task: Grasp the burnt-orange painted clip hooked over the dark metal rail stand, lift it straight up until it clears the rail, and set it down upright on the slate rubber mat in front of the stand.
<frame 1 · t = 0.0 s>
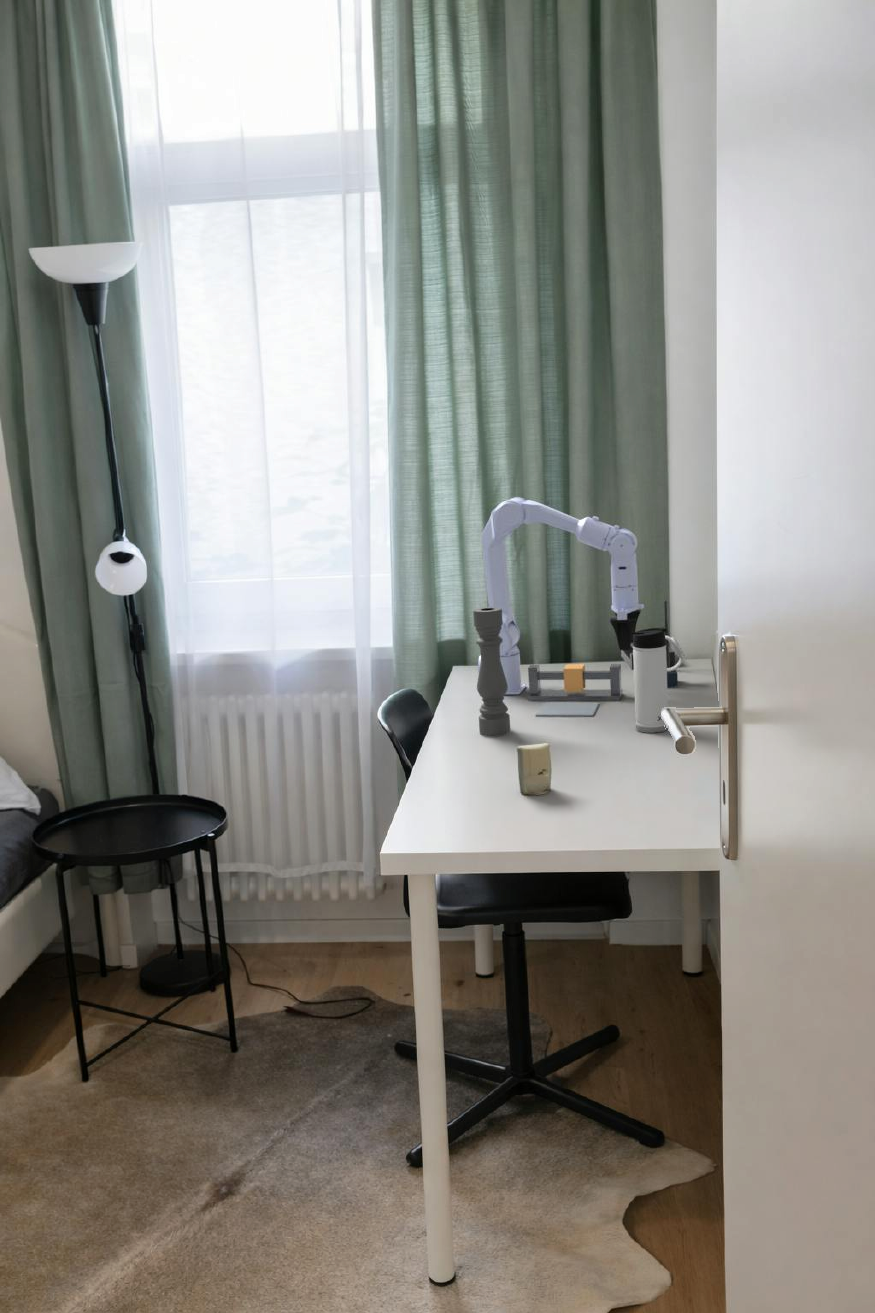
hand: (626, 646, 249), 10 cm above the table, fingers open, 7 cm apart
travel mug: (653, 729, 219), on the table
beige tall block: (537, 792, 188), on the table
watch: (667, 684, 254), on the table
wifi router: (649, 664, 277), on the table
candle holder: (495, 733, 225), on the table
clip: (575, 689, 248), point 2 cm above the table, touching rail stand
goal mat: (567, 710, 238), on the table
rail stand: (575, 697, 248), on the table
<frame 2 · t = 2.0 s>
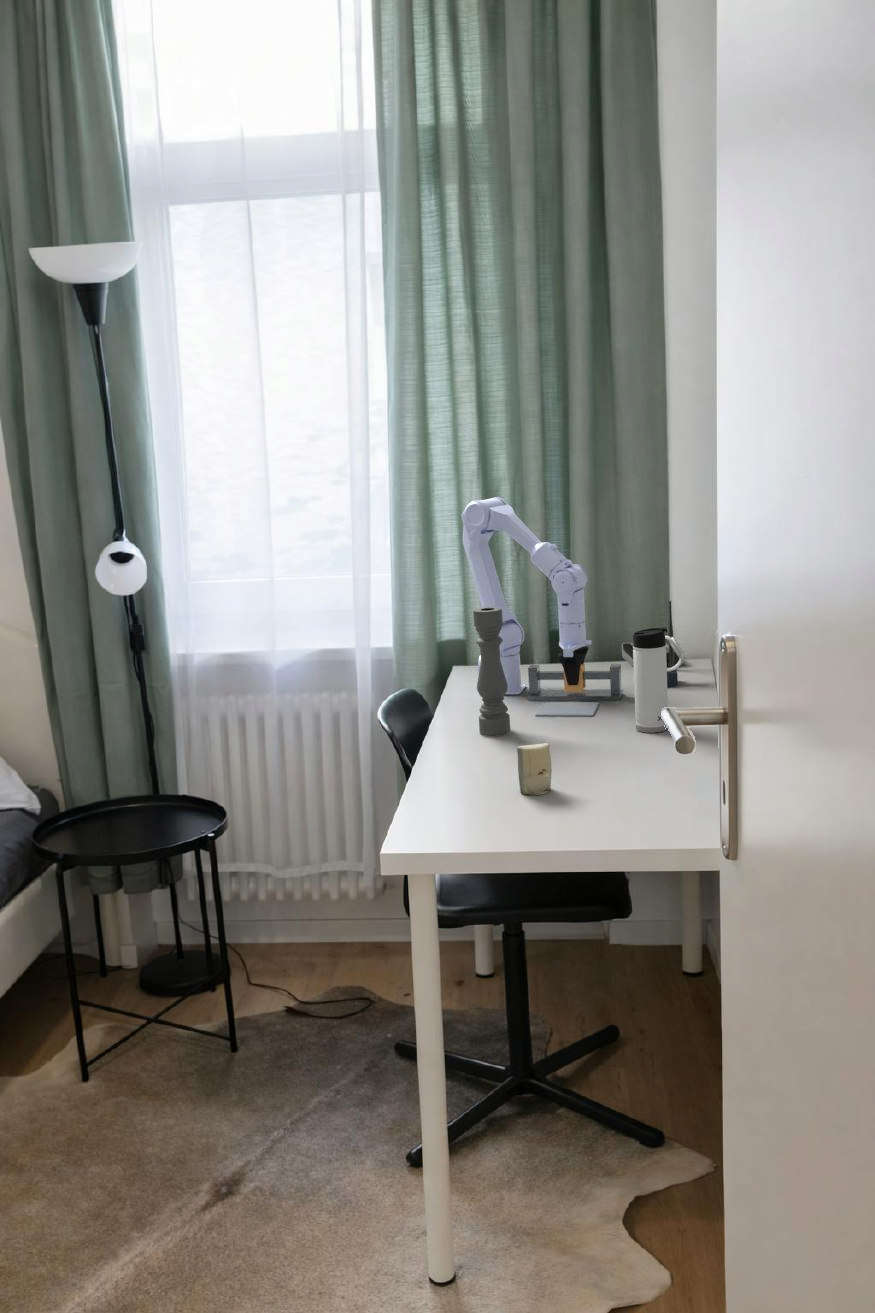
hand: (574, 682, 247), 3 cm above the table, fingers closed on clip, 4 cm apart
clip: (575, 689, 248), point 2 cm above the table, touching gripper, rail stand
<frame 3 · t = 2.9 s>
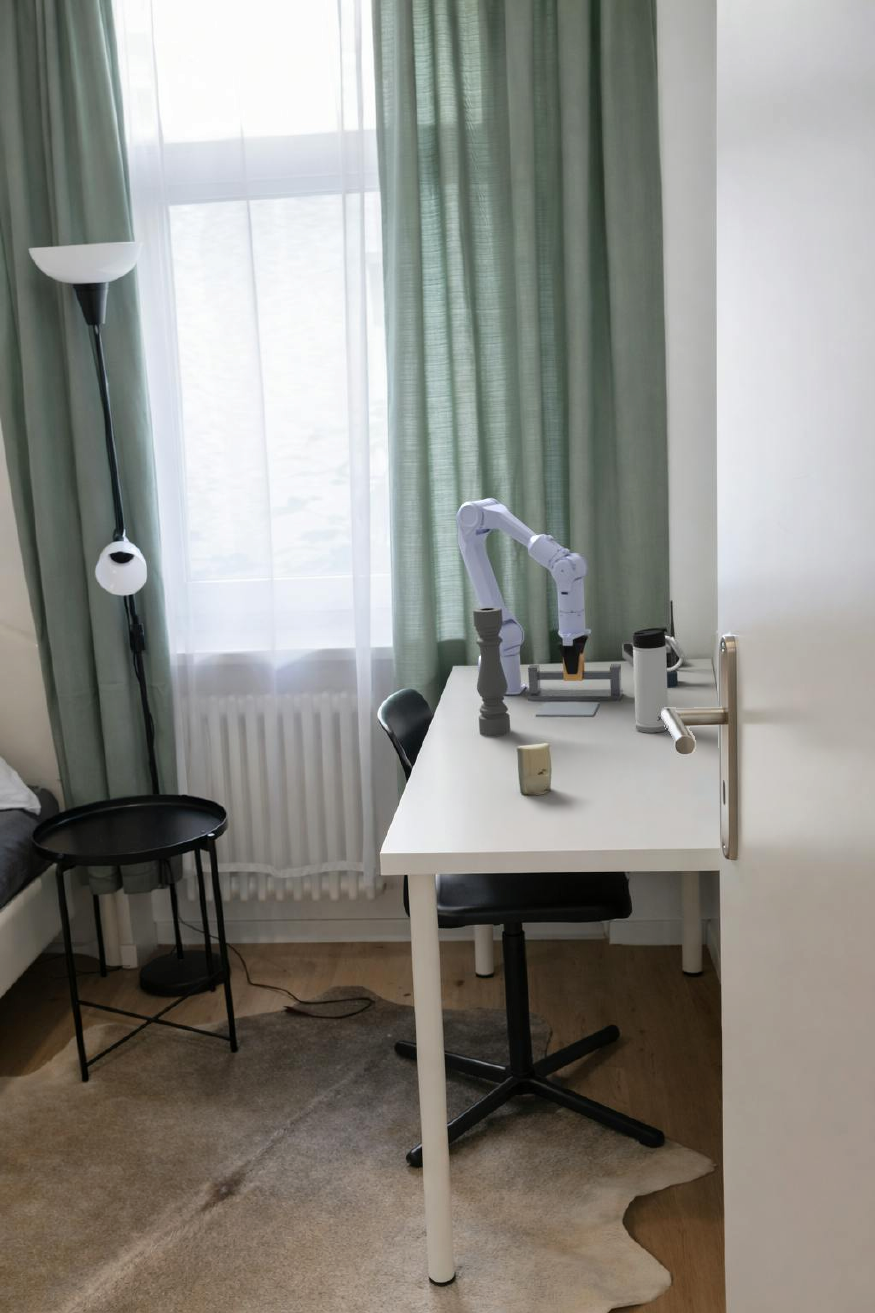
hand: (574, 671, 247), 6 cm above the table, fingers closed on clip, 4 cm apart
clip: (574, 678, 247), point 4 cm above the table, touching gripper
everything else where it was.
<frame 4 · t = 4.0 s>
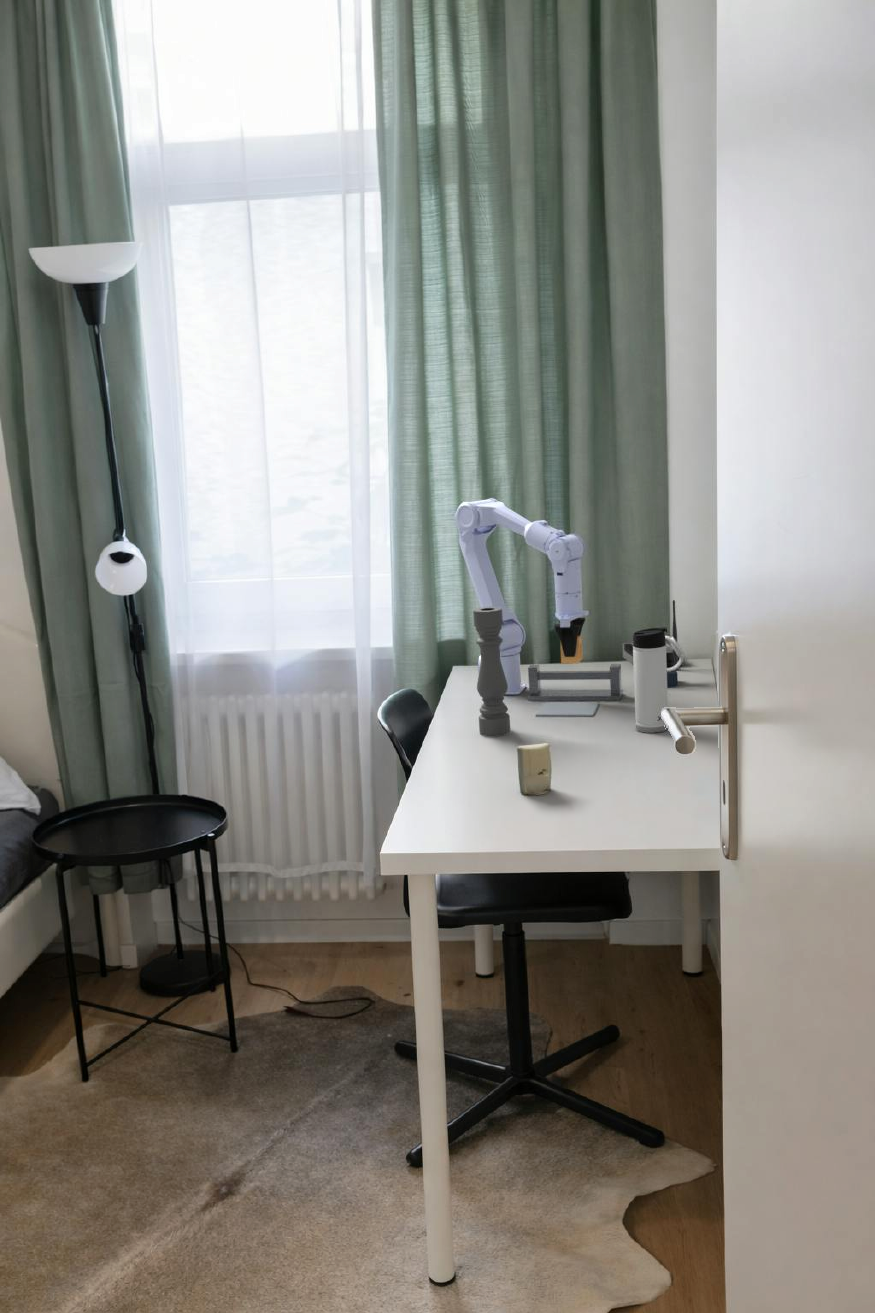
hand: (571, 654, 243), 10 cm above the table, fingers closed on clip, 4 cm apart
clip: (572, 661, 243), point 9 cm above the table, touching gripper
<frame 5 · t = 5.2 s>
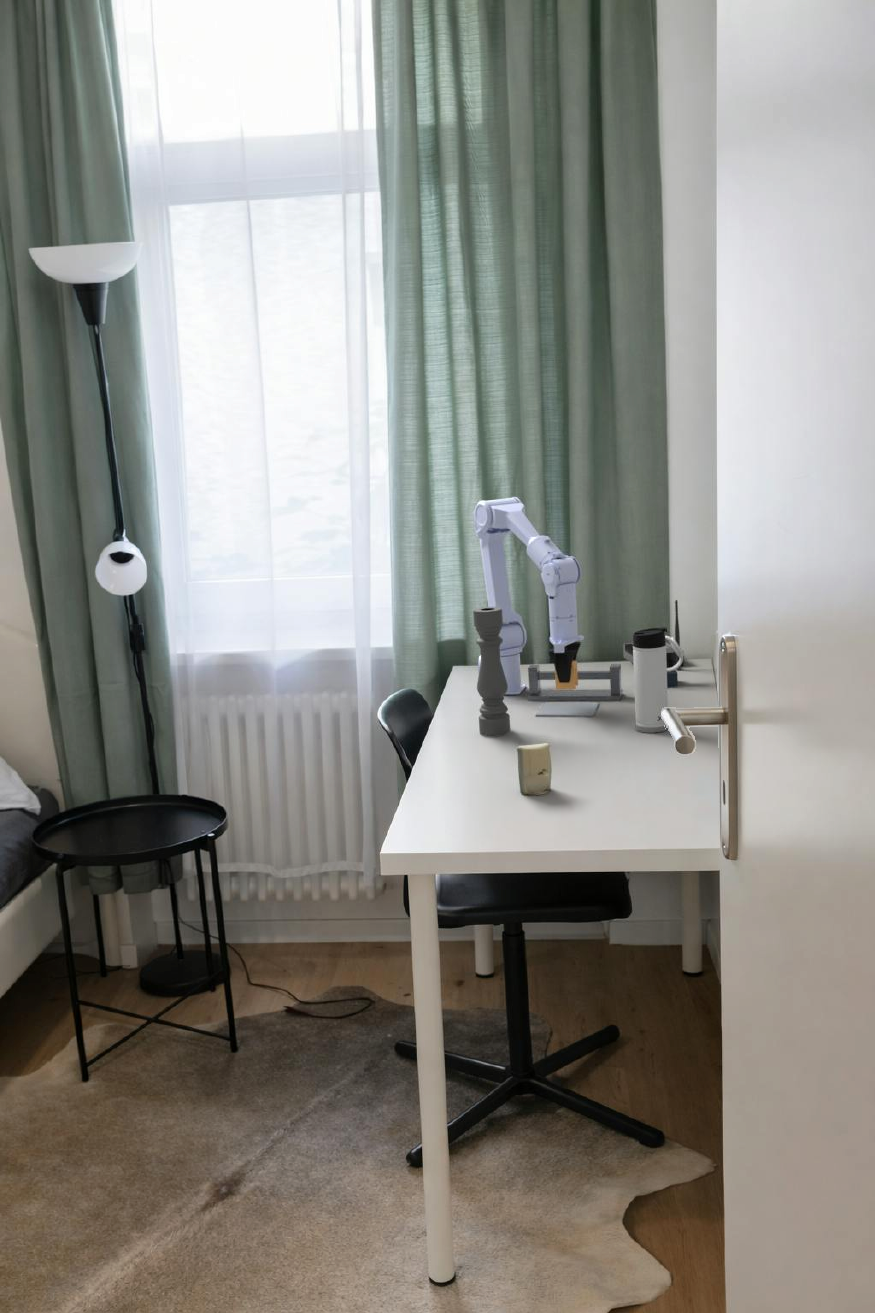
hand: (566, 679, 236), 7 cm above the table, fingers closed on clip, 4 cm apart
clip: (567, 686, 237), point 5 cm above the table, touching gripper
when the fingers open (3 cm above the table, at t = 6.2 s): clip drops 1 cm, resting on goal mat.
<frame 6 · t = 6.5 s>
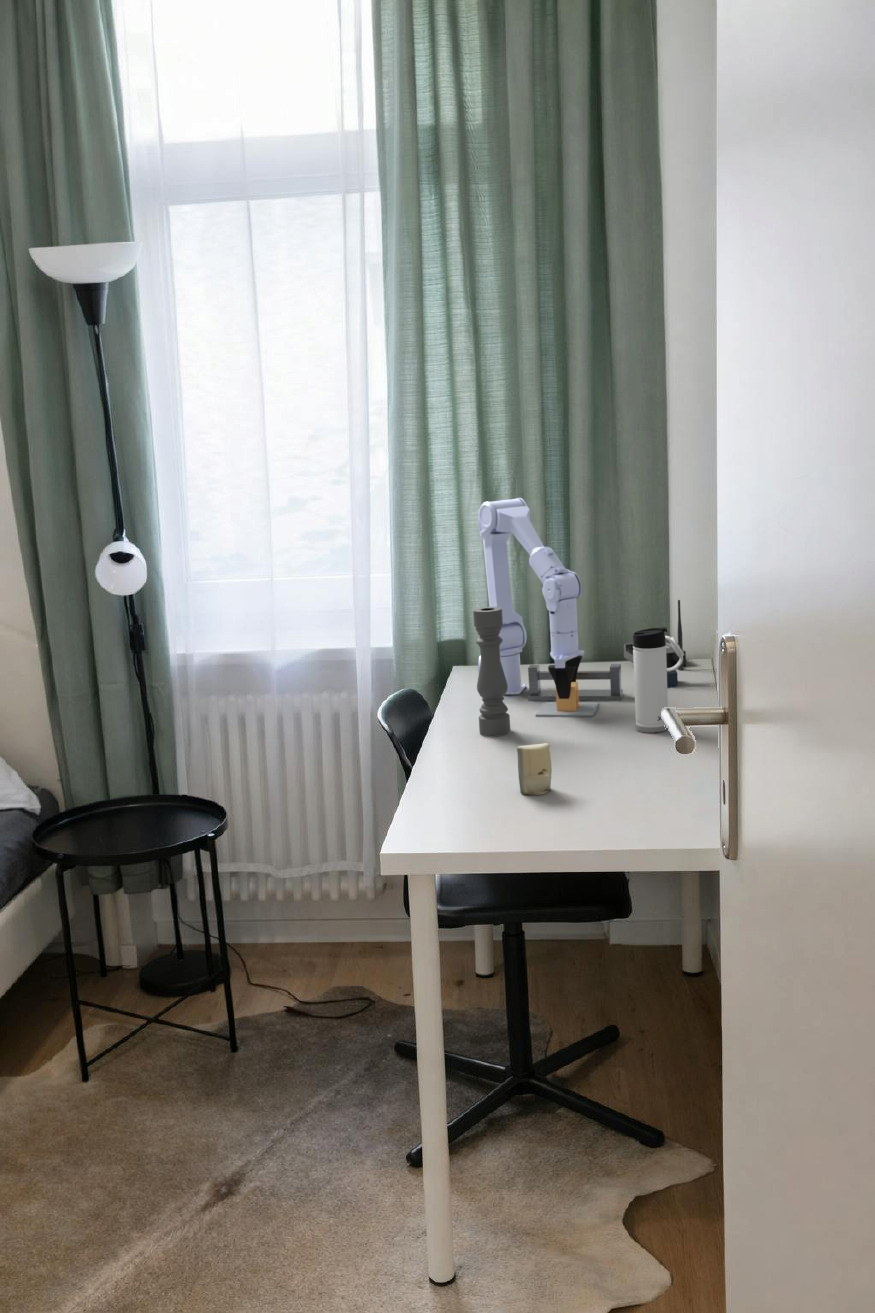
hand: (566, 694, 237), 4 cm above the table, fingers open, 7 cm apart
clip: (567, 708, 238), resting on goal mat
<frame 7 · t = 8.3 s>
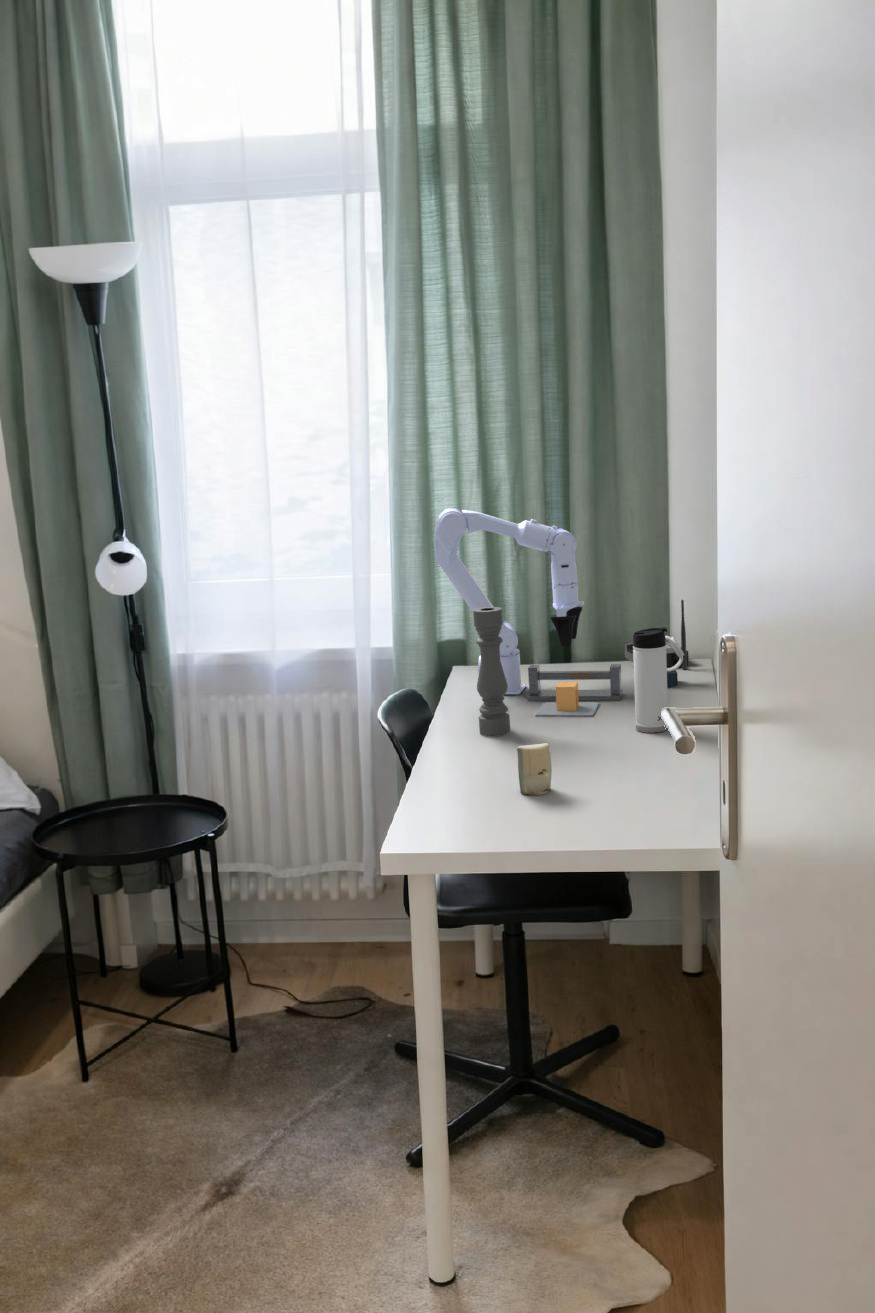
hand: (568, 642, 256), 10 cm above the table, fingers open, 7 cm apart
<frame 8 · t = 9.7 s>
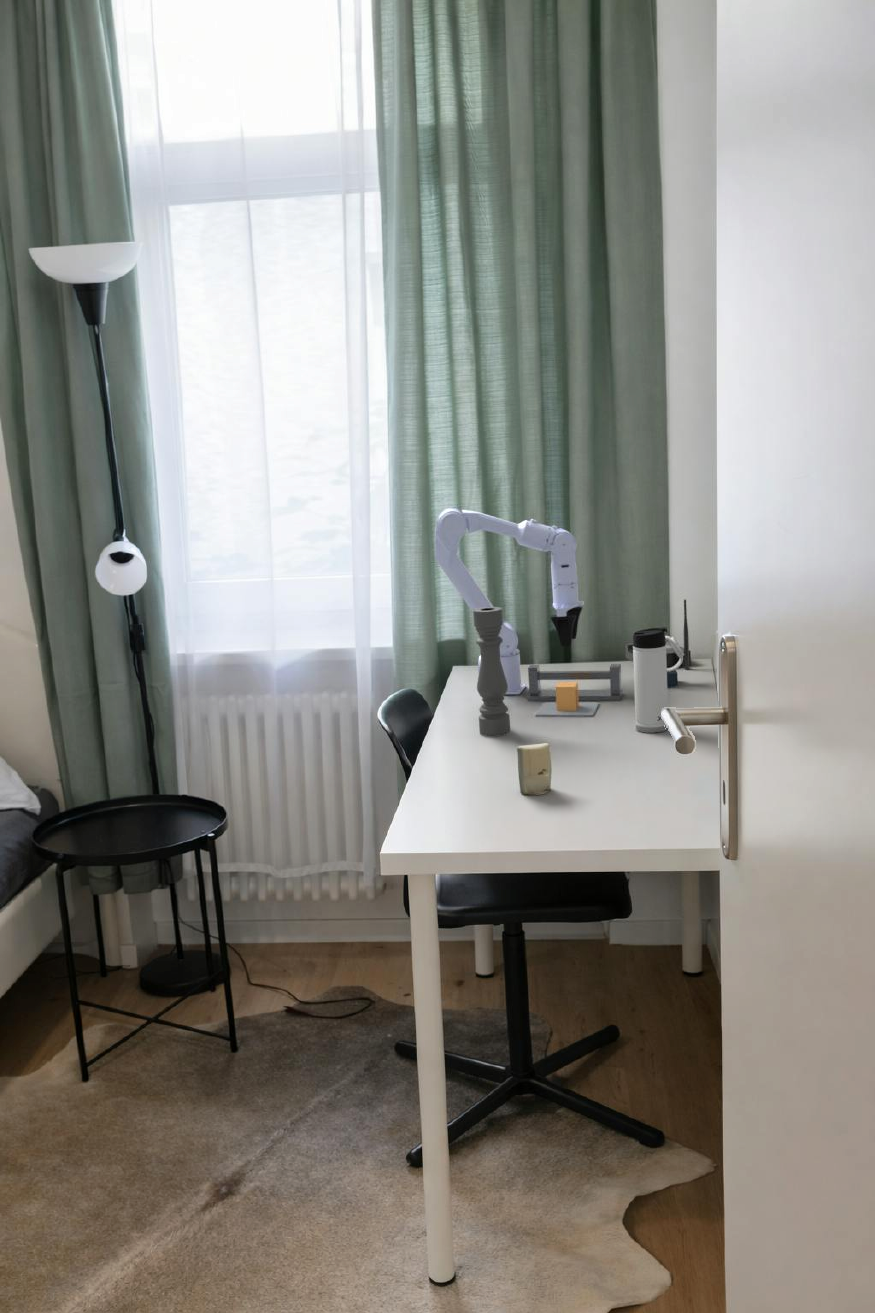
hand: (568, 642, 256), 10 cm above the table, fingers open, 7 cm apart
at the end: clip inside the target area on the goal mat (0.1 cm from its centre), point 0.4 cm above the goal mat's base; clip tilted 0°; the gripper is holding nothing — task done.
